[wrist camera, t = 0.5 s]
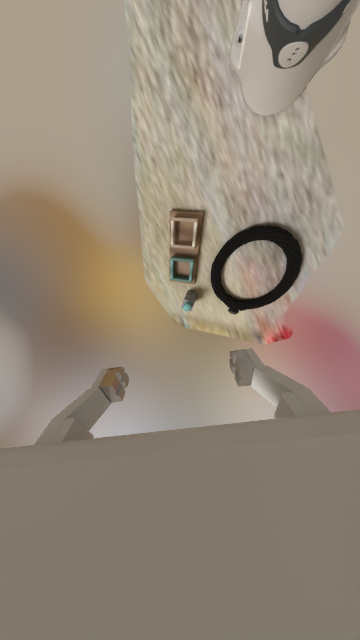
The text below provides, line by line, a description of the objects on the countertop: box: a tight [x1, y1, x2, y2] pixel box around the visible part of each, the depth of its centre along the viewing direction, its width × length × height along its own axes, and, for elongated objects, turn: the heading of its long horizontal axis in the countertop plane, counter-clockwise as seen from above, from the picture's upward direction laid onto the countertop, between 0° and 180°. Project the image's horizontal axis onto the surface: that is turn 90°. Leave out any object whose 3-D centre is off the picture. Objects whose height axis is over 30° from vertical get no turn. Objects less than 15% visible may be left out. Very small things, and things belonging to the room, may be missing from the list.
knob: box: [181, 291, 197, 311], centre depth 54 cm, size 4×4×10 cm
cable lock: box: [211, 225, 302, 314], centre depth 47 cm, size 28×4×30 cm
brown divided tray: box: [170, 211, 203, 284], centre depth 46 cm, size 22×10×4 cm, turn 177°
